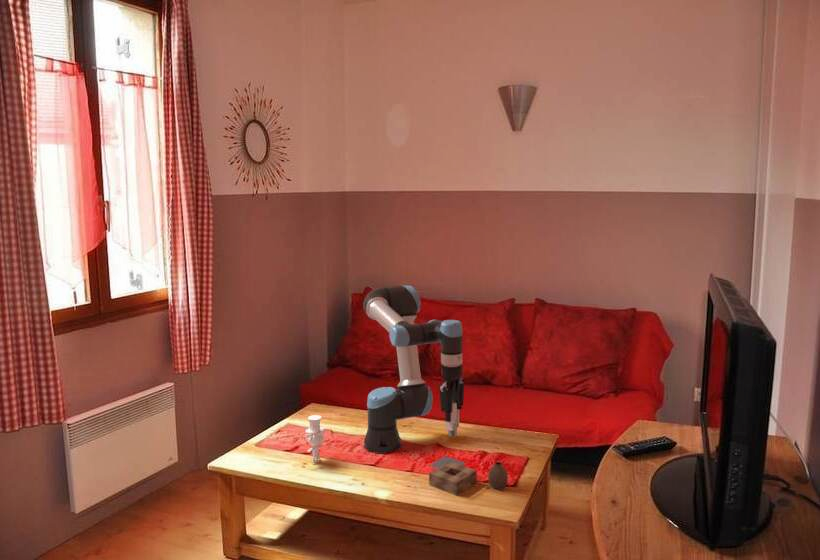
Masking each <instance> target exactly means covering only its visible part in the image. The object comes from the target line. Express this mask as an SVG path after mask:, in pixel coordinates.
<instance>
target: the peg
mask: <svg viewBox="0 0 820 560" xmlns="http://www.w3.org/2000/svg"><path fill="white" fill-rule="evenodd" d="M452 412H453V431H451V430H448V436H449V437H457V436H458V428H457V402H455V401H452Z"/></svg>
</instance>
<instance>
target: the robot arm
mask: <svg viewBox="0 0 820 560" xmlns="http://www.w3.org/2000/svg"><path fill="white" fill-rule="evenodd" d="M421 305H422V304H421V299H420V295H419V292H418V290H417V289H416V288H415V287H414V286H412V285H396V286H387V287H377V288H374V289H373V290H371V291H369V292H368V293H367V295H366V296H365V297H364V300H363V305H362V306H363V307H362V308H363V311H364V312H365V314H366V316H368V318H370V319H372V320H374V321H376V322H378V323H379V325H381V327H383V328H384V329H385V330H386V331H387V332H388V334H389V341H390V343H391V346H393V347H395V348H396V354H397V355H396V356H397V364H398V372H399V380H400V381H399V382H398V384H397V389H396V388H395V387H392V386H387V387H386V386H382V387H378V388H374V389H373V390H371V392H369V393H368V395H367V403H366V407H367V430H366V433H365V437H364V439H363V440H364V441H363V447H364V449H365V450H366V449H367V450H366V451H368V450H369V451H368V452H370V451H371V452H370V453H373V452H378V453H377V454H388V453H387V452H390V453H394V452H396V451H398V450H400V449H401V448H402V439H401V436H400V433H399V430H398V425H397V424H398V420H403V419H404V420H405V419H410V418H417V417H422V416H425V415H426V416H427V415H428V414H429V413H430V411H431V410H432V407H433V397H434V396H433V392H432V390H431V387H430V386H428V385H426V381H424V379H422V375H421V370H420V369H421V367H420V361H419V360H420V359H419V352H418V346H419V345H428V344H440V363H441V367H440V370H441V373H440V374H441V376H442V377H443V381H442V384H441V385H439V386H438V392H439V401H440V411H441V412H442V413H444V415H445V416H444V417H445V429H446V430H447V431H449V430H451V431H453V412H452V401H455V402H457V429H458V428H460V410H462V409H463V406H464V401H465V400H464V399H465V398H464V397H465V396H464V395H465V384H466V378H462V377H461V376H463V372H464V371H463V368H464V367H463V333H464V332H463V323H462V322H461V321H460V320H456V319H446V320H440V319H431V320H429V321H428V322H422V323H415V319H416V318H417V317H418V315H417V313H419V312H420V310H421ZM393 451H394V452H393ZM385 452H386V453H385Z"/></svg>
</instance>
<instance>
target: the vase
mask: <svg viewBox="0 0 820 560" xmlns="http://www.w3.org/2000/svg"><path fill="white" fill-rule="evenodd" d="M487 479H488V484H489V485H490V486H491V488H493V489H494V490H502V489H504V488H505V487H506V486H507V483H508V480H509V475H508V471H507V469H506V467H504V465H503V463H502V462H501V461H495V462H494V464H493V465H492V467H490V469H489V470H488V475H487Z"/></svg>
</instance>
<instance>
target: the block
mask: <svg viewBox="0 0 820 560" xmlns="http://www.w3.org/2000/svg"><path fill="white" fill-rule="evenodd" d="M477 473H478V471H477V469H473V468H470V467H467V466H465V465H459V464H456V463H453V462H450V461H449V462H447V463H446V464H444V465H442V466H440V467H439V468H435V469H434V470H432V471H430V472H429V473H428V475H429V476H428V481H429V482H428V483H429V487H433V488H435V489H438V490H441V491H443V492H446V493H448V494H451V495H454V496H456V497H457V496H459V495H460V494H462V493H464V492H465V491H466V490H467V489H470V488H471V487H472V486H475V485H476V484H477V481H478V478H477V477H478V475H477Z"/></svg>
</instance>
